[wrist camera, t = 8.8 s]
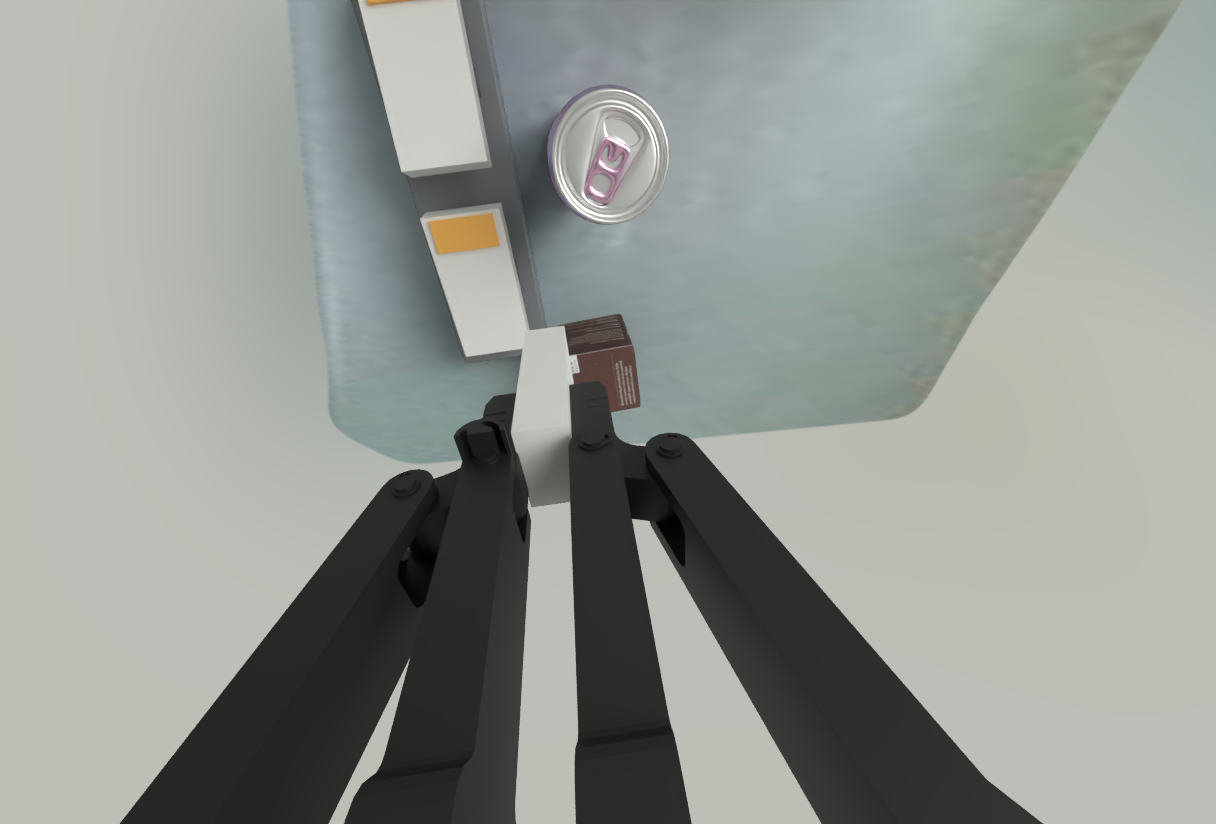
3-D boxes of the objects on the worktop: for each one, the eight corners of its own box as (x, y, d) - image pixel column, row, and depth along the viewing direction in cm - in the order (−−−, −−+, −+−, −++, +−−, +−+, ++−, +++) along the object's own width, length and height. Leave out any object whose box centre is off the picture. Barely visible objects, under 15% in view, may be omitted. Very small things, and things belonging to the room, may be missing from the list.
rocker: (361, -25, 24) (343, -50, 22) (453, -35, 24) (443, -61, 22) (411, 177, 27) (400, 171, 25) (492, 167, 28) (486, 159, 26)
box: (628, 370, 44) (641, 408, 38) (568, 380, 44) (572, 421, 38) (621, 311, 41) (634, 343, 34) (556, 322, 40) (558, 357, 34)
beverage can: (535, 173, 34) (529, 197, 21) (564, 85, 31) (576, 53, 19) (606, 207, 36) (639, 247, 23) (639, 127, 33) (696, 123, 20)
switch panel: (360, -32, 27) (327, -62, 23) (475, -45, 27) (463, -76, 23) (471, 344, 40) (463, 367, 36) (547, 333, 41) (548, 355, 37)
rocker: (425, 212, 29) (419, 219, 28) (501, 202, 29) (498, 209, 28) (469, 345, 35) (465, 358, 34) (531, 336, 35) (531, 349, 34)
